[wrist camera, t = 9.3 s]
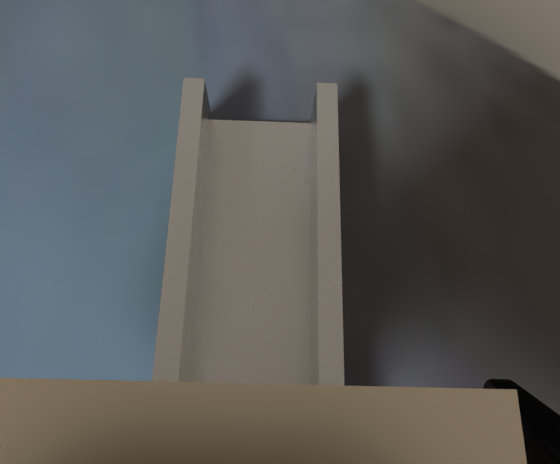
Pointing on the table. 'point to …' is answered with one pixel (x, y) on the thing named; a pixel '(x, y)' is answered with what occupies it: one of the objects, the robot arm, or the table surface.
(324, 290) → the u-shaped channel
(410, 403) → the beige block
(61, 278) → the table surface
